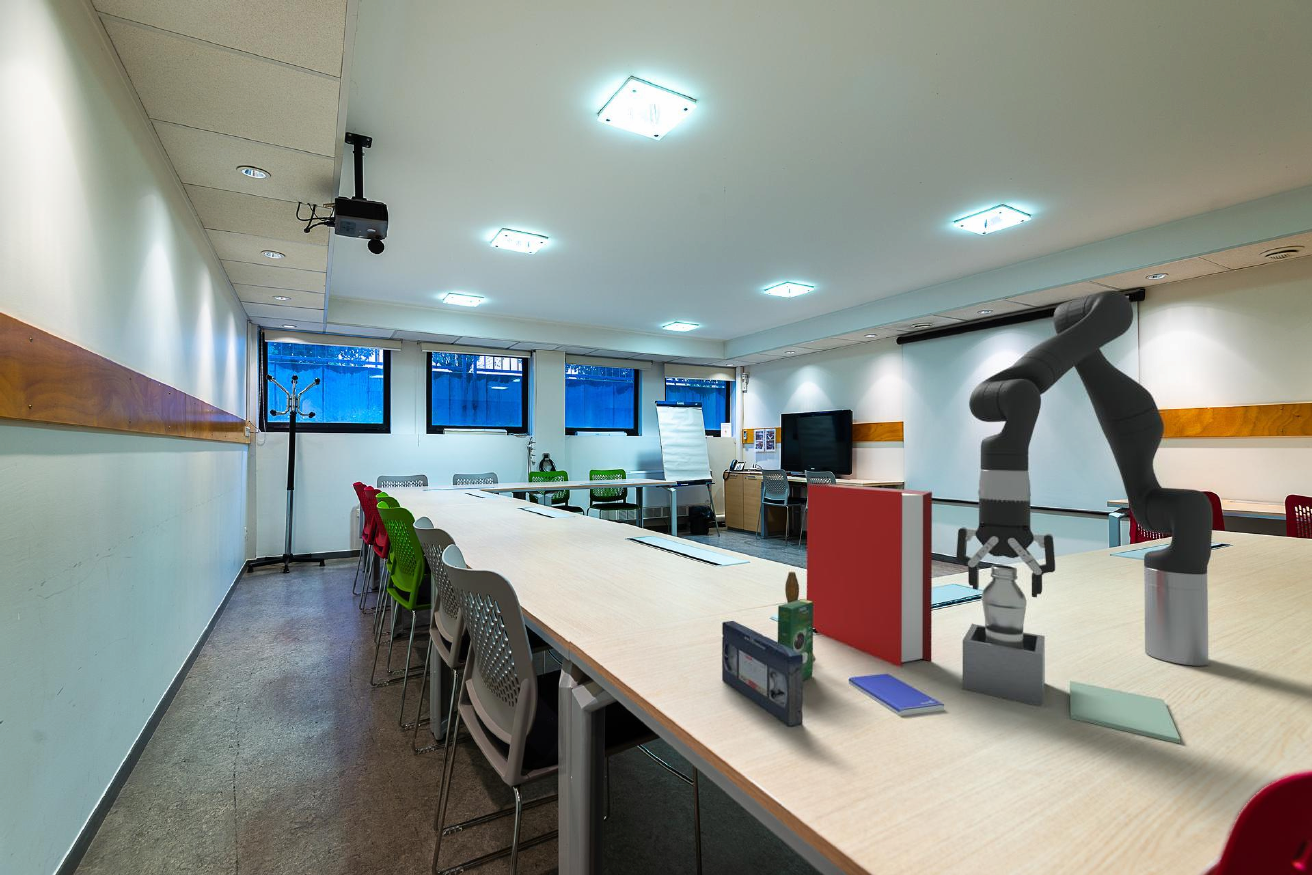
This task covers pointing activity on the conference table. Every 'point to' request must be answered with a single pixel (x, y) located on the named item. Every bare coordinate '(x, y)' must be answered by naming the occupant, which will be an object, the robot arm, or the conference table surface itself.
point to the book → (871, 569)
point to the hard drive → (895, 694)
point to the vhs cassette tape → (763, 672)
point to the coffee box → (797, 631)
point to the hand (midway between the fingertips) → (1004, 592)
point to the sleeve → (1004, 667)
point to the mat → (1122, 711)
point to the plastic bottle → (1004, 608)
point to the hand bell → (792, 589)
